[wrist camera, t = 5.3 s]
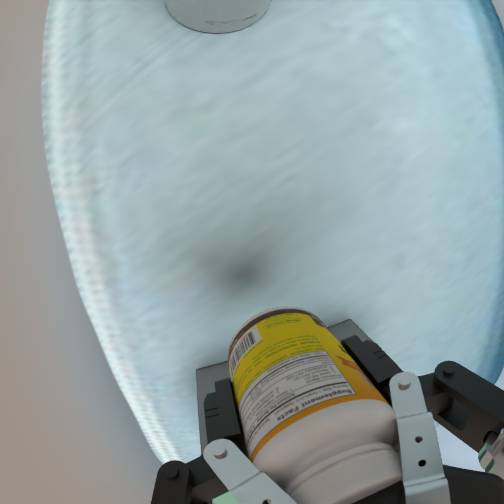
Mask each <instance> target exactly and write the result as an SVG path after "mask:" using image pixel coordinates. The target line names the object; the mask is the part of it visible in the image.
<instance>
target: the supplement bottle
mask: <svg viewBox="0 0 504 504" xmlns="http://www.w3.org/2000/svg"><path fill="white" fill-rule="evenodd" d="M228 364H229V370H230V376H231V381H232V386H233V390H234V395H235V400H236V405H237V409H238V414H239V418H240V423H241V427H242V432H243V436H244V441H245V445H246V449H247V453H248V457H249V460H250V461H251V462H252V463H253V464H254V465H255V466H256V468H257V469H258V470H260V471H263V472H264V473H265V474H266V475H268V476H269V477H270V478H271V479H272V480H273V481H274V482H275V483H276V484H277V485H278V486H279V487H280V488H281V489H282V490H283V491H284V492H285V493H287V494H288V495H289V496H290V497H291V498H292V499H293V500H294V501H296V502H297V503H298V504H352V503H354V502H356V501H358V500H361V499H363V498H365V497H367V496H370V495H372V494H374V493H376V492H378V491H380V490H382V489H384V488H386V487H388V486H390V485H392V484H394V483H396V482H398V481H400V479H401V470H400V465H399V455H398V452H396V451H395V450H394V449H393V447H392V443H393V437H394V429H395V418H396V414H395V412H394V411H393V409H392V408H391V406H390V405H389V404H388V402H387V401H386V400H385V399H384V397H383V396H382V395H381V394H380V392H379V391H378V390H377V389H376V387H375V386H374V385H373V384H372V382H371V381H370V380H369V379H368V377H367V376H366V375H365V374H364V373H363V371H362V370H361V369H360V368H359V366H358V365H357V364H356V363H355V361H354V360H353V359H352V358H351V356H350V355H349V354H348V353H347V352H346V350H345V349H344V348H343V346H342V345H341V344H340V343H339V342H338V340H337V339H336V338H335V337H334V336H333V334H332V333H331V332H330V331H329V329H328V328H327V327H326V326H325V325H324V323H323V322H322V321H321V320H320V319H319V318H318V317H317V316H315V315H314V314H312V313H311V312H309V311H307V310H304V309H301V308H297V307H277V308H272V309H269V310H266V311H263V312H261V313H259V314H257V315H255V316H253V317H252V318H250V319H249V320H248V321H246V322H245V323H244V324H243V325H242V326H241V327H240V328H239V330H238V331H237V332H236V334H235V335H234V337H233V339H232V341H231V344H230V347H229V351H228Z"/></svg>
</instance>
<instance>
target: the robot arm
mask: <svg viewBox="0 0 504 504" xmlns="http://www.w3.org/2000/svg"><path fill="white" fill-rule="evenodd" d="M271 1H272V0H165V3H166V8H167V9H168V11H169V13H170V15H171V16H172V17H173V18H174V19H175V20H176V21H178V22H179V23H181V24H182V25H184V26H186V27H188V28H191V29H194V30H197V31H202V32H206V33H226V32H233V31H237V30H241V29H243V28H246V27H248V26H250V25H252V24H253V23H255V22H256V21H258V20H259V19H260V18H261V17H262V16H263V15H264V14H265V12H266V10H267V8H268V6H269V5H270V3H271ZM341 345H342V346H343V348H344V349H345V350H346V352H347V353H348V354H349V355H350V356H351V358H352V359H353V360H354V361H355V363H356V364H357V365H358V366H359V368H360V369H361V370H362V371H363V373H364V374H365V375H366V376H367V377H368V379H369V380H370V381H371V382H372V384H373V385H374V386H375V387H376V389H377V390H378V391H379V392H380V394H381V395H382V396H383V397H384V399H385V400H386V401H387V402H388V404H389V405H390V406H391V408H392V409H393V411H394V412H395V414H396V418H395V429H394V437H393V443H392V447H393V449H394V450H395V451H396V452H398V455H399V465H400V470H401V479H400V481H398V482H396V483H394V484H392V485H390V486H388V487H386V488H384V489H382V490H380V491H378V492H376V493H374V494H372V495H370V496H367V497H365V498H363V499H361V500H358V501H356V502H354V503H352V504H504V391H503V390H502V389H500V388H498V387H497V386H495V385H493V384H492V383H490V382H488V381H487V380H485V379H483V378H482V377H480V376H478V375H477V374H475V373H473V372H472V371H470V370H468V369H467V368H465V367H463V366H462V365H460V364H458V363H456V362H454V361H444V362H442V363H440V364H438V365H437V367H436V368H435V372H434V373H431V374H427V375H423V376H416V375H415V374H413V373H410V372H403V371H402V370H401V369H400V368H399V367H398V365H397V364H396V363H395V362H394V361H393V360H392V359H391V358H390V357H389V356H388V355H387V354H386V353H385V352H384V351H382V349H381V348H380V347H379V346H378V345H377V344H376V343H374V342H372V341H370V340H366V341H363V342H362V341H361V339H360V338H359V337H358V336H357V335H355V334H354V335H352V336H349V337H347V338H345V339H342V340H341ZM214 384H215V391H216V392H213V393H209V394H207V395H206V398H205V400H204V402H203V403H204V411H205V412H204V414H205V424H206V434H207V446H206V448H205V449H204V453H203V454H202V455H201V456H200V457H198V458H196V459H194V460H192V461H190V462H188V463H186V464H185V463H183V462H181V461H169V462H167V463H165V464H163V465H162V466H161V468H160V469H159V471H158V474H157V478H156V482H155V487H154V491H153V496H152V501H151V504H212V499H215V498H217V497H219V496H221V495H223V494H225V493H227V492H229V491H230V492H231V493H232V495H233V496H234V497H235V498H236V499H237V501H238V502H239V503H240V504H298V503H297V502H296V501H294V500H293V499H292V498H291V497H290V496H289V495H288V494H287V493H285V492H284V491H283V490H282V489H281V488H280V487H279V486H278V485H277V484H276V483H275V482H274V481H273V480H272V479H271V478H270V477H269V476H268V475H266V474H265V473H264V472H263V471H260V470H258V469H257V468H256V466H255V465H254V464H253V463H252V462H251V461H250V460H249V457H248V453H247V449H246V445H245V441H244V436H243V432H242V427H241V423H240V418H239V414H238V409H237V405H236V400H235V395H234V390H233V386H232V382H231V380H230V378H229V377H228V378H225V379H221V380H217V381H215V382H214ZM433 419H434V420H435V421H437V422H438V423H439V424H441V425H442V426H443V427H445V428H446V429H447V430H449V431H450V432H451V433H452V434H454V435H455V436H457V437H458V438H459V439H460V440H462V441H463V442H464V443H466V444H467V445H469V446H470V447H471V448H472V449H474V450H475V451H477V452H478V453H479V456H478V459H479V462H480V464H481V467H482V468H483V469H485V472H480V471H473V470H468V469H462V468H457V467H452V466H447V465H443V464H442V459H441V454H440V448H439V443H438V438H437V433H436V429H435V424H434V420H433Z"/></svg>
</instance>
